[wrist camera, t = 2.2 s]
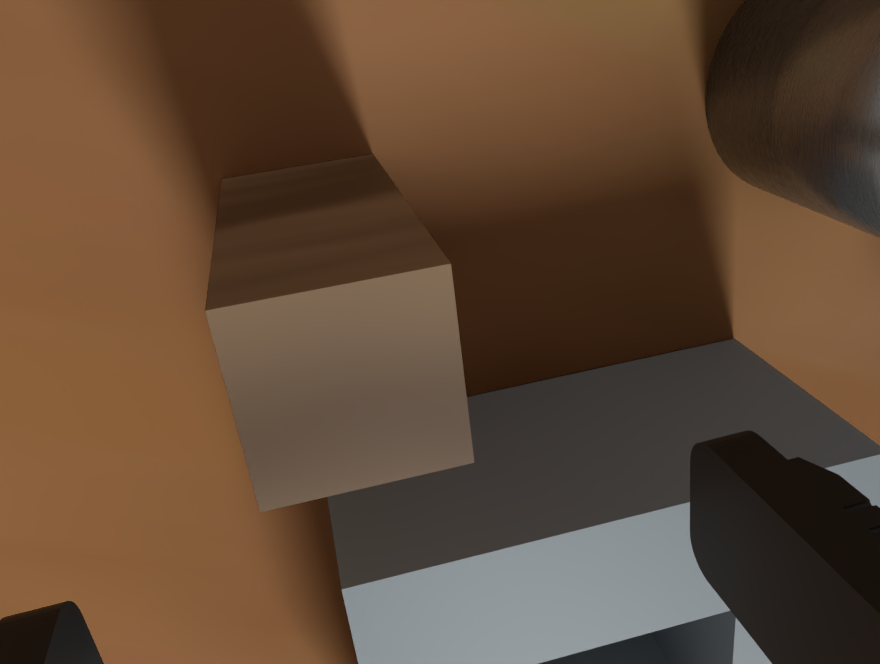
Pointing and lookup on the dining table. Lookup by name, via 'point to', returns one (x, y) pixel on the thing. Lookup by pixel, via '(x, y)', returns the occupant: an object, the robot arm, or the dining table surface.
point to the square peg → (335, 332)
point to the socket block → (575, 519)
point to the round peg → (802, 104)
